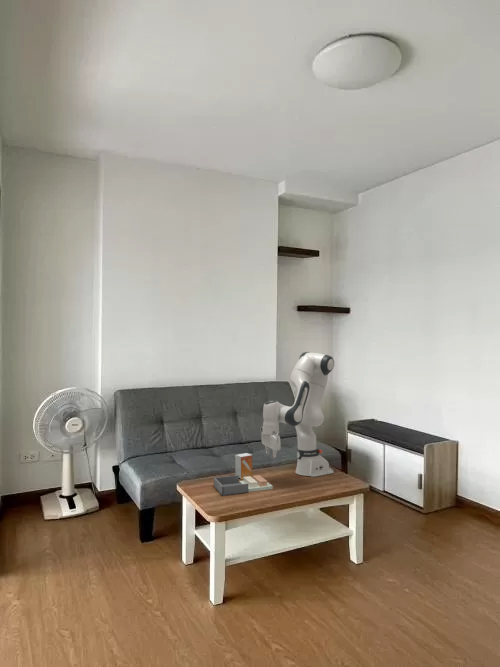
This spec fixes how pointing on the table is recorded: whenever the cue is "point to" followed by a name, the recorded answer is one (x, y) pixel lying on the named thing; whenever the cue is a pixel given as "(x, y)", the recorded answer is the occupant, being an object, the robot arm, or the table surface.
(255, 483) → the cream tile
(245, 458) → the small box
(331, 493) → the table surface
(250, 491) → the sage board
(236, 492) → the tray
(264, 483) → the terracotta tile
